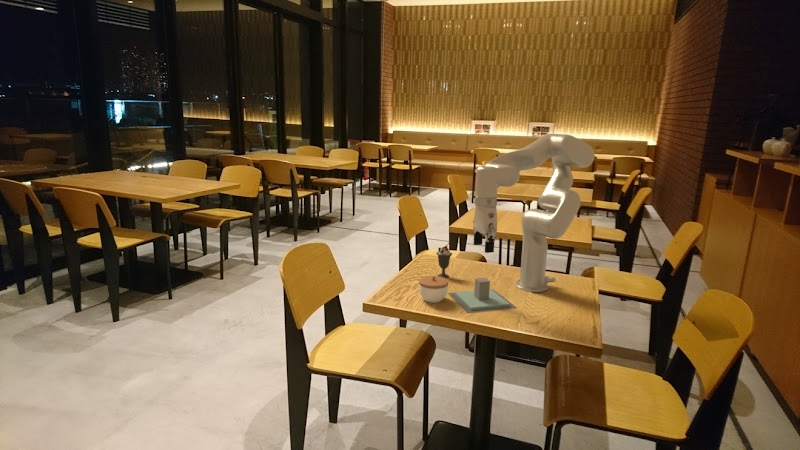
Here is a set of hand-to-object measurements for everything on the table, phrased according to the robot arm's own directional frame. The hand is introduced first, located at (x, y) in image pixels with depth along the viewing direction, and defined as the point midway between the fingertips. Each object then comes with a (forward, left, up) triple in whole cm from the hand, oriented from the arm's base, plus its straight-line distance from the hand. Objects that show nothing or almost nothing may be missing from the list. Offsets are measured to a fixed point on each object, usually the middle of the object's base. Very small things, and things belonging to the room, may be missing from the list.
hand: (483, 248), depth 170 cm
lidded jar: (+17, -5, -21) cm, 27 cm away
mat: (0, 0, -20) cm, 20 cm away
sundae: (+4, -29, -20) cm, 36 cm away
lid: (0, 0, -20) cm, 20 cm away
